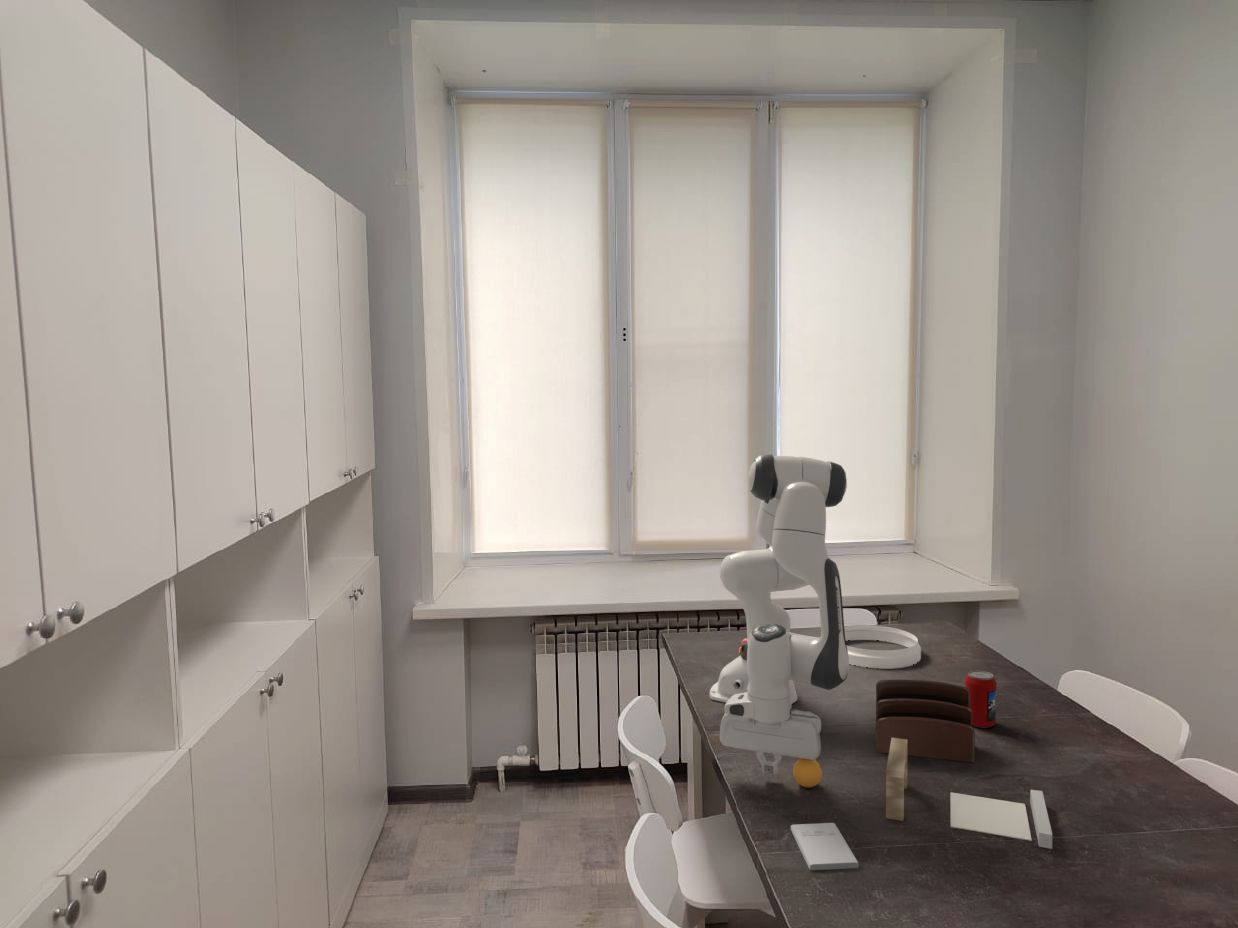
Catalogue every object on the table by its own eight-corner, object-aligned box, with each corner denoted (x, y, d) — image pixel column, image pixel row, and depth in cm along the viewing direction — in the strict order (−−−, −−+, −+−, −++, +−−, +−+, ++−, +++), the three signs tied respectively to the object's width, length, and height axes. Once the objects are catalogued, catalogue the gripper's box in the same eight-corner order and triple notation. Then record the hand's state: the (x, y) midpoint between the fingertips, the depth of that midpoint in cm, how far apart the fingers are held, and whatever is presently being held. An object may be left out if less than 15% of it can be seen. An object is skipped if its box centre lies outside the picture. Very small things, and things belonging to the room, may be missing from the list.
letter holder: (875, 734, 182) (875, 675, 181) (969, 744, 176) (969, 682, 175) (876, 753, 173) (876, 690, 172) (974, 764, 167) (975, 699, 166)
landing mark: (950, 826, 142) (950, 825, 142) (950, 793, 154) (950, 792, 154) (1031, 840, 137) (1031, 839, 137) (1024, 804, 149) (1025, 803, 149)
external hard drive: (809, 873, 130) (790, 832, 143) (858, 871, 131) (835, 830, 143) (809, 864, 130) (790, 823, 143) (858, 861, 131) (835, 821, 143)
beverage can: (999, 730, 182) (1000, 679, 181) (968, 728, 184) (968, 678, 183) (991, 718, 189) (992, 669, 188) (961, 717, 190) (962, 668, 189)
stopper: (1038, 846, 136) (1039, 832, 135) (1030, 801, 150) (1030, 789, 150) (1052, 848, 135) (1052, 834, 135) (1042, 803, 150) (1042, 791, 149)
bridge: (886, 817, 146) (886, 769, 145) (891, 781, 159) (891, 737, 159) (903, 820, 145) (903, 771, 144) (907, 784, 158) (907, 739, 157)
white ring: (813, 659, 235) (813, 641, 235) (844, 636, 257) (844, 619, 257) (906, 676, 220) (906, 656, 219) (930, 649, 242) (930, 632, 241)
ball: (790, 789, 157) (790, 762, 157) (795, 777, 162) (795, 750, 162) (819, 794, 155) (819, 767, 154) (823, 781, 160) (823, 754, 160)
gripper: (824, 707, 159) (824, 773, 160) (725, 694, 167) (726, 757, 168) (818, 719, 153) (818, 787, 154) (716, 705, 161) (717, 770, 162)
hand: (769, 771), depth 161 cm, fingers closed
